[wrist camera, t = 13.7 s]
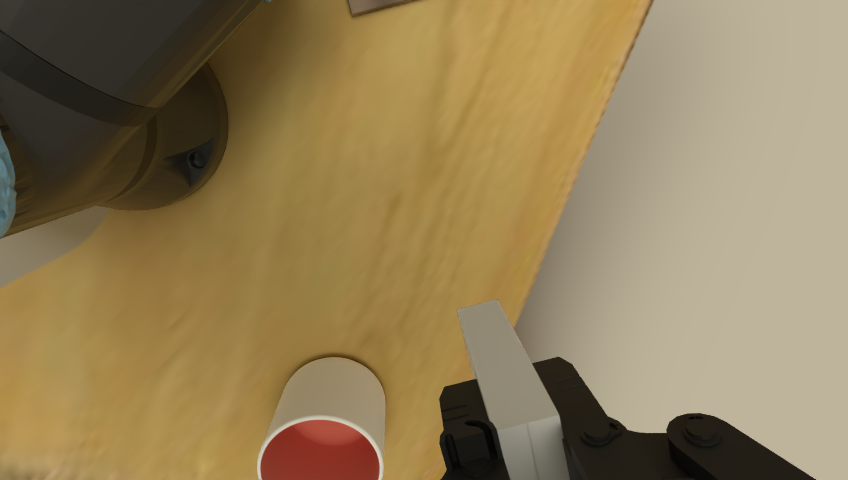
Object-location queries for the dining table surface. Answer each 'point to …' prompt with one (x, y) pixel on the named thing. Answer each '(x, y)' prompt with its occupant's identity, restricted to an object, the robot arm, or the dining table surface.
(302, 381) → the cup
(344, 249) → the dining table surface
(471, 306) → the robot arm
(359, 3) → the key console
